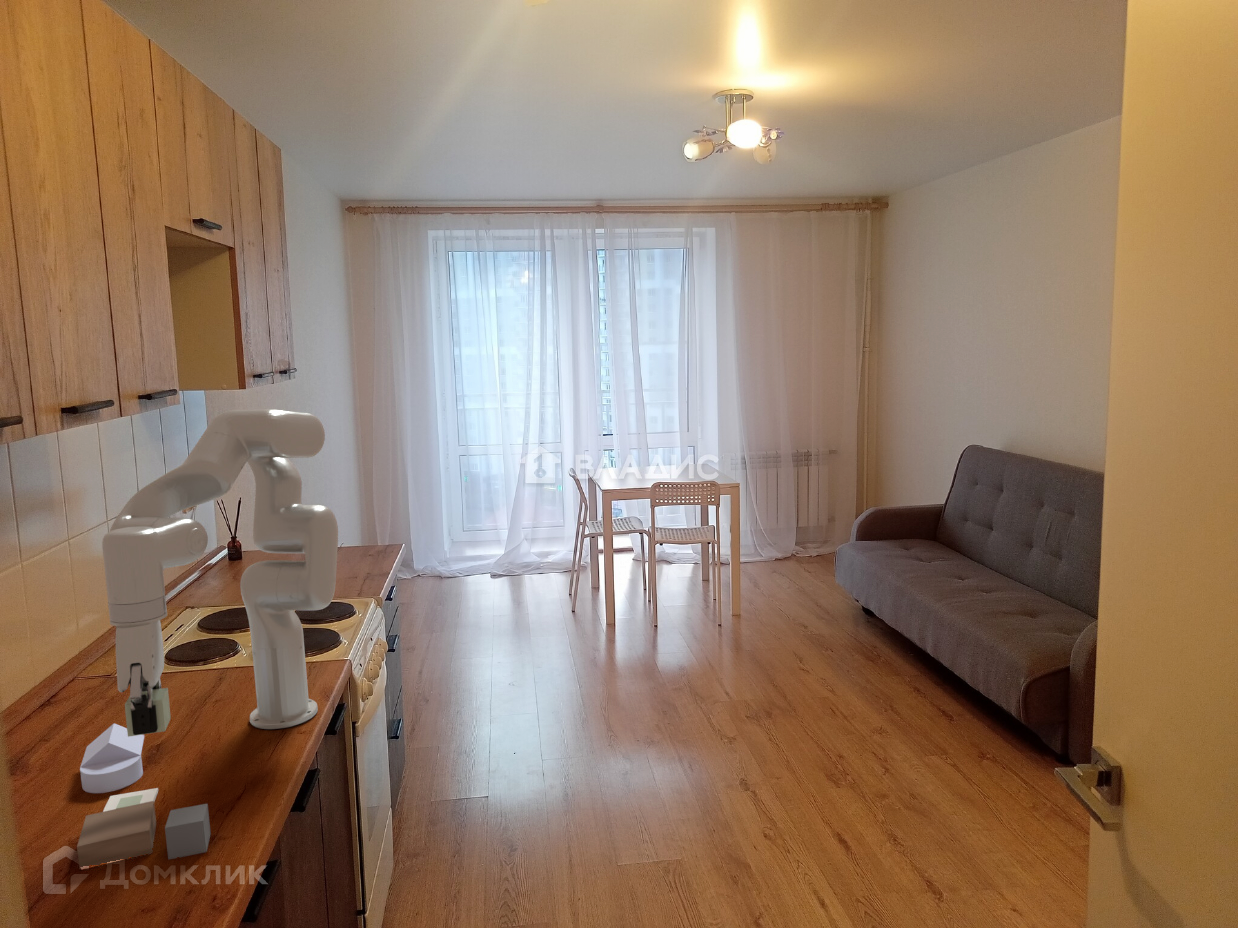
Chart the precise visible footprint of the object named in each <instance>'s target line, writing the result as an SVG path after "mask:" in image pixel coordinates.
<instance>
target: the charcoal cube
mask: <svg viewBox="0 0 1238 928" xmlns="http://www.w3.org/2000/svg"><path fill="white" fill-rule="evenodd" d="M208 804H209V803H202V804H198V805H193V806H187V807H181V808H176V809H171V810H170V811H169V815H168V817H167V821H166V823H165V826H164V832H165V841H166V850H167V859H168V861H169V860H173V859H178V858H177V857H179V858H184V857H188V856H192V855H193V856H194V855H198V854H199V855H200V854H203V853H207V851H208V848H209V842H210V840H211V839H210V838H211V834H212V833H211V824H210V816H209V815H210V813H209V805H208Z"/></svg>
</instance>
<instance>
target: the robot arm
mask: <svg viewBox="0 0 1238 928" xmlns="http://www.w3.org/2000/svg"><path fill="white" fill-rule="evenodd" d="M325 433H326V432H325V427H324V425H323V423H322V422H321V420H320V419H319V418H318V417H317V416H316V415H314V414H312V413H309V412H297V411H291V410H290V411H288V410H280V409H267V408H266V409H232V410H231V409H230V410H226V411H223V412H221V413H219V414H217V415H216V416H215V417H213V419H212V420H211V421H210V423H209V424H208V426H207V427H206V429H205V430H204V431H203V434H202V435H201V436H200V438H199V439H198V441H197V443H196V444H195V446H194V447H193V448H192V450H191V451H190V452H189V454H188V456H187V457H186V458H185V460H184V462H183V463H182V464H180V465H179V466H177V467H176V468H173V469H172V470H170V471H168V472H167V473H165V474H163V475H161V476H159V477H158V478H155V480H153V481H152V482H150V483H148V484H146V485H145V486H144V487H142V488H141V489H139V490H138V491H137V492H136V493H135V494H134V495H132V496H131V497H130V498H129V500H128V501H127V502H126V504H125V505H124V506H123V508H121V511H119V513H118V515H117V517H116V518H115V519H114V521H113V523H112V525H111V527H110V529H109V531H108V532H107V533H105V534H104V536H103V538H102V542H101V543H102V544H101V545H102V546H101V547H102V556H103V565H104V575H105V576H104V577H105V584H106V585H105V586H106V593H107V595H106V596H107V605H108V613H109V614H108V615H109V616H108V617H109V624H110V625H111V626H113V627H115V663H116V664H115V665H116V680H117V681H116V682H117V684H116V685H117V691H118V692H120V693H124V692H125V691H126V690H128V688H129V690H130V692H129V696H130V698H131V717H132V727H133V734H134V735H140V734H143V735H147V733H150V734H155V733H154V732H156V731H157V729H158V726H157V715H156V705H153V690H154V689H162V682H161V677H162V673H163V672H164V668H165V652H164V651H165V650H164V640H163V631H162V622H161V621H162V620H163V619H165V618H166V617H168V610H167V599H166V589H165V579H164V578H165V577H164V570H166V569H170V568H175V567H181V566H186V565H190V564H192V563H193V562H195V561H197V560H199V559H200V557H202V556H203V554H205V552H206V549H207V547H208V541H209V538H208V532H207V529H206V528H205V527H204V526H203V525H202V524H201V523H200V522H199V521H197V520H195V519H191V518H188V517H172V516H173V515H175V514H177V513H179V512H181V511H184V510H187V509H190V508H193V507H196V506H200V505H203V504H206V503H208V502H209V503H210V502H211V501H214V500H217V499H219V498H221V497H223V496H224V495H226V494H227V493H228V492H229V491H230V490H231V489H232V488H233V486H234V484H235V482H236V480H237V478H238V477H239V475H240V474H241V472H242V470H243V468H244V467H245V465H246V464H248V466H249V467H250V469H251V472H252V473H253V477H254V481H255V490H254V491H255V493H254V511H253V524H252V525H253V528H252V532H253V533H252V538H253V544H254V545H255V548H257V549H258V550H260V551H261V552H264V553H269V554H304V558H305V559H304V560H291V559H290V560H287V559H286V560H285V559H284V560H280V559H279V560H277V559H274V560H273V559H271V560H269V559H267V560H260V561H256V562H255V563H253V564H251V565H249V566H248V567H246V568H245V569H244V571H243V572H242V575H241V577H240V585H239V588H240V595H241V598H242V601H243V604H244V607H245V610H246V614H247V619H248V625H249V631H250V640H251V642H250V643H251V651H252V653H251V654H252V662H253V673H254V682H255V694H256V704H257V705H256V706H257V707H256V708H255V709H253V710H252V711H251V713H250V714H249V722H250V724H251V726H253V727H255V728H258V729H262V730H263V729H264V730H277V729H278V730H279V729H285V728H286V729H287V728H291V727H294V726H297V725H300V724H303V723H306V722H307V721H309V720H311V719H312V718H313V717H315V716H316V714H317V713H318V711H319V710H318V709H319V708H318V703H317V702H316V701H315V700H313V699H311V698H309V689H308V677H307V676H308V675H307V664H306V662H307V661H306V653H305V639H304V630H303V625H302V622H301V620H300V618H299V616H298V615H297V614H296V613H297V612H295V611H319V610H323V609H326V608H327V607H328V606H329V605H330V604H331V602H332V600H333V598H334V595H335V592H336V584H337V583H336V581H337V567H338V565H337V563H338V548H339V547H338V546H339V525H338V521H337V519H336V516H335V514H334V512H333V510H331V508H329V507H328V506H325V505H321V504H302V491H303V490H302V488H303V487H302V485H303V483H302V477H301V475H300V472H299V471H298V469H297V467H296V466H295V465H294V463H293V462H292V461H291V460H290V459H293V458H295V459H297V458H298V459H299V458H300V459H303V458H305V459H306V458H307V459H308V458H312V457H315V456H316V455H318V454H319V453H320V452H321V450H322V448H323V447H324V444H325V439H326V438H325V437H326V435H325ZM143 691H147V696H146V695H145V694H143V693H142V692H143Z"/></svg>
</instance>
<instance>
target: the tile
mask: <svg viewBox="0 0 1238 928" xmlns="http://www.w3.org/2000/svg"><path fill="white" fill-rule="evenodd" d="M158 793H159V787H156V788H149V789H144V790H143V789H142V790H138V791H133V792H132V791H131V792H126V793H120V794H114V795H110V796H109V797H108V798H109V799H108V800H107V802H106V803H105V806H104V808H103V811H102V812H105V811H109V810H114V809H118V808H123V807H128V806H132V805H137V804H141V803H146V802H151V801H154V802H155V801H156V799H157V796H158Z"/></svg>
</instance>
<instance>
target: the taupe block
mask: <svg viewBox="0 0 1238 928" xmlns="http://www.w3.org/2000/svg"><path fill="white" fill-rule="evenodd" d="M156 818H157V817H156V808H155V801H151V802H146V803H141V804H137V805H132V806H128V807H123V808H118V809H114V810H109V811H105V812H103V811H100V812H96V813H92V814H86V815H85V818H84V820H83V821H84V822H83V825H82V829H81V831H80V835H79V839H78V842H77V846H76V849H77V851H76V852H77V858H78V866H79V868H80V867H83V866H89V865H100V864H101V863H107V862H110V861H116V860H120V859H127V860H129V859H128V858H129V857H136V858H138V857H137V856H140V855H144V856H146V855H145V854H148V855H151V853H152V854H153V850H152V848H154V843H153V842H154V841H155V835H156V828H157V819H156ZM140 857H141V856H140Z"/></svg>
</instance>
